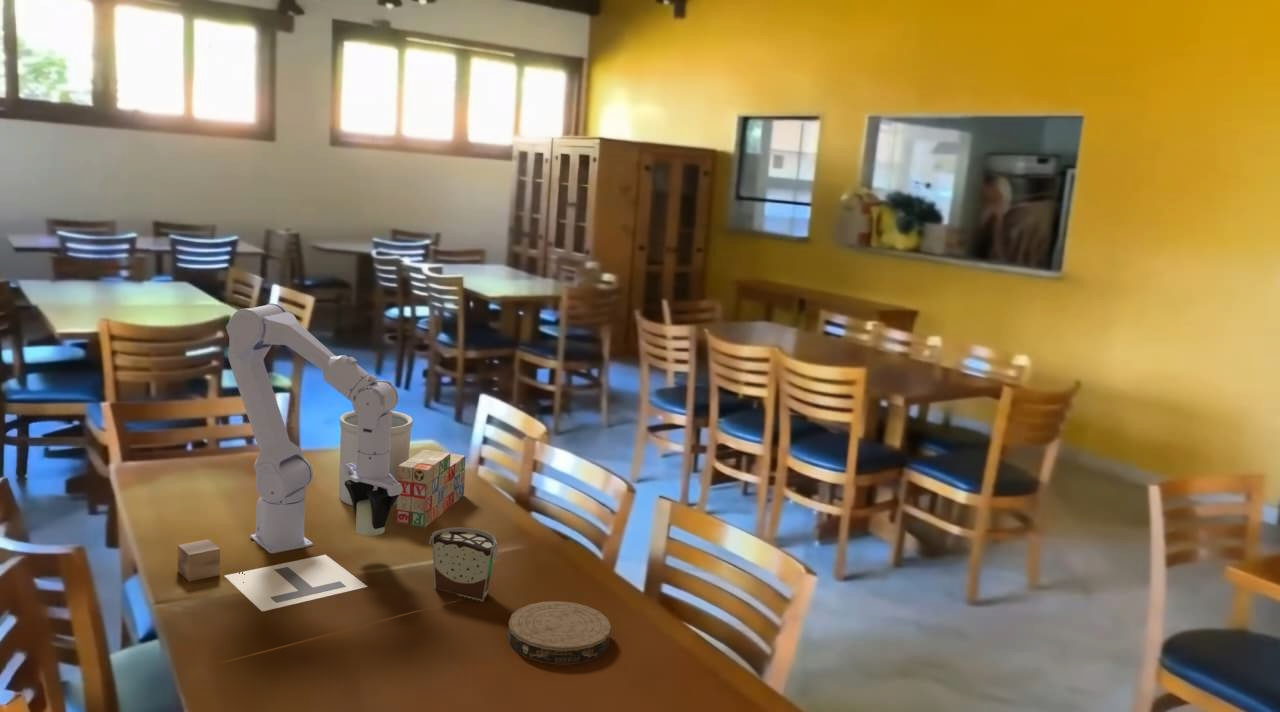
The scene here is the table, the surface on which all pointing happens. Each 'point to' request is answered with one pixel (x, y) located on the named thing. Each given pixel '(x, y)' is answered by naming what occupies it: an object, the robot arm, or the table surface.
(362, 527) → the sage cylinder
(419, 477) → the stack of blocks
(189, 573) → the wooden cube
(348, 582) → the board
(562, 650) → the beige round flat disc
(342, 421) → the utensil holder
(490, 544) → the food container
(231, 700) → the table surface
